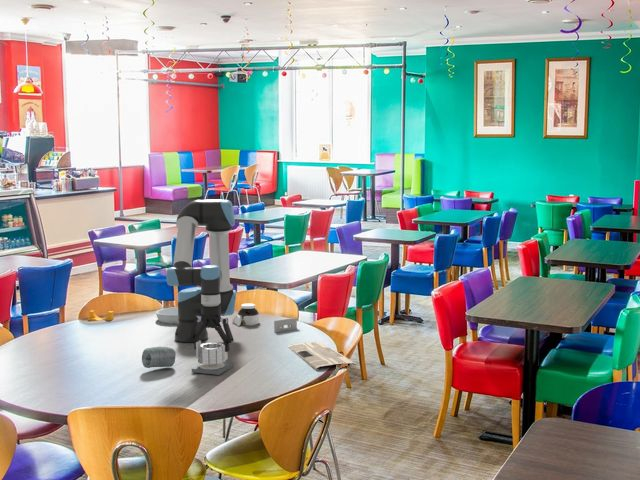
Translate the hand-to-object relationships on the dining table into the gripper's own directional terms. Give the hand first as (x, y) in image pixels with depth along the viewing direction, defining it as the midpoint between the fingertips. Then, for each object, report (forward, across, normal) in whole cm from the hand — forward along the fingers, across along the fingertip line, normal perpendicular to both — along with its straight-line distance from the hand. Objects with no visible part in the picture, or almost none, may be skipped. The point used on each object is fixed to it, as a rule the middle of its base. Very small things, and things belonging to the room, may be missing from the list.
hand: (211, 358), depth 305 cm
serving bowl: (+5, -54, +69) cm, 88 cm away
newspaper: (+5, +36, +31) cm, 48 cm away
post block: (+5, 0, 0) cm, 5 cm away
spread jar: (+5, -17, +70) cm, 73 cm away
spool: (+5, -22, -7) cm, 24 cm away
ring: (+1, 0, 0) cm, 1 cm away
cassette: (+5, +7, +64) cm, 65 cm away
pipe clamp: (+5, -91, +57) cm, 108 cm away
